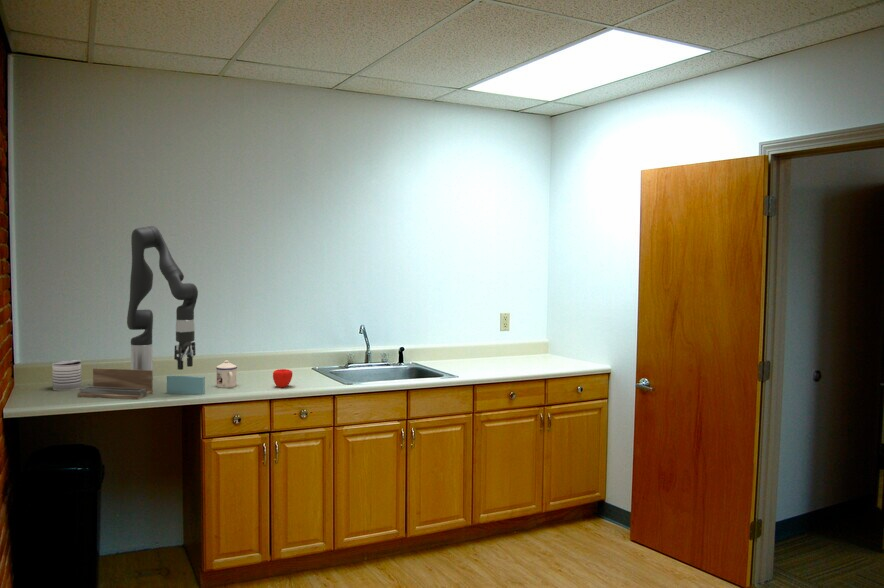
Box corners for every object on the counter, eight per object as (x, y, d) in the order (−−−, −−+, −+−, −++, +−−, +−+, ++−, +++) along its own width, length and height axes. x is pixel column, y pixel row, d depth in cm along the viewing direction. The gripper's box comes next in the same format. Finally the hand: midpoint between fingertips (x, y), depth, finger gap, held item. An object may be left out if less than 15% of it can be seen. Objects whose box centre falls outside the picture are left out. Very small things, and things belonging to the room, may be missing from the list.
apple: (295, 387, 319) (295, 370, 319) (276, 389, 315) (276, 371, 314) (288, 384, 327) (289, 367, 326) (270, 385, 322) (270, 368, 322)
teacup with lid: (213, 385, 321) (213, 359, 320) (233, 383, 326) (233, 358, 325) (221, 389, 311) (221, 363, 310) (241, 388, 316) (241, 362, 315)
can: (67, 391, 300) (66, 363, 299) (45, 389, 303) (45, 361, 302) (87, 386, 311) (87, 359, 310) (67, 385, 314) (66, 358, 313)
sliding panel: (169, 392, 303) (169, 375, 303) (204, 394, 302) (204, 376, 301) (166, 393, 301) (166, 376, 301) (202, 394, 300) (202, 377, 299)
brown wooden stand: (94, 391, 302) (94, 367, 301) (152, 393, 299) (152, 370, 299) (77, 396, 290) (77, 372, 289) (137, 399, 287) (137, 375, 287)
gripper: (184, 328, 307) (184, 365, 308) (168, 331, 293) (168, 370, 294) (201, 328, 306) (201, 365, 307) (185, 332, 292) (185, 370, 293)
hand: (185, 368), depth 300 cm, fingers open, 8 cm apart
